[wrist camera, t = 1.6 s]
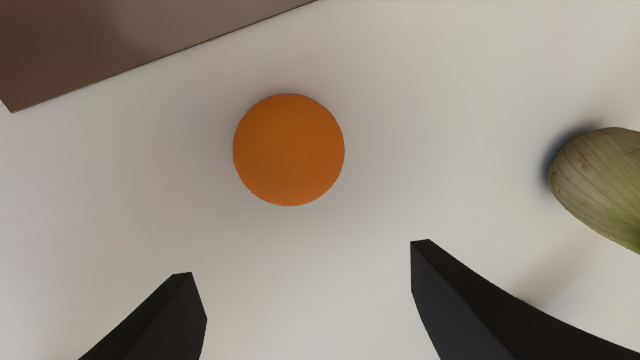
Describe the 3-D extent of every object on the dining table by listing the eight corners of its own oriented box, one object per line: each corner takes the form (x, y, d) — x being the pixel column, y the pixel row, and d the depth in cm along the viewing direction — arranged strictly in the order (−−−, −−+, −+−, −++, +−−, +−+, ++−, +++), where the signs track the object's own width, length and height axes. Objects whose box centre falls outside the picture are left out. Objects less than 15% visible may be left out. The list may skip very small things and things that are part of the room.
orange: (218, 106, 19) (204, 136, 14) (314, 70, 19) (336, 86, 14) (258, 192, 21) (259, 244, 16) (343, 159, 21) (371, 201, 16)
